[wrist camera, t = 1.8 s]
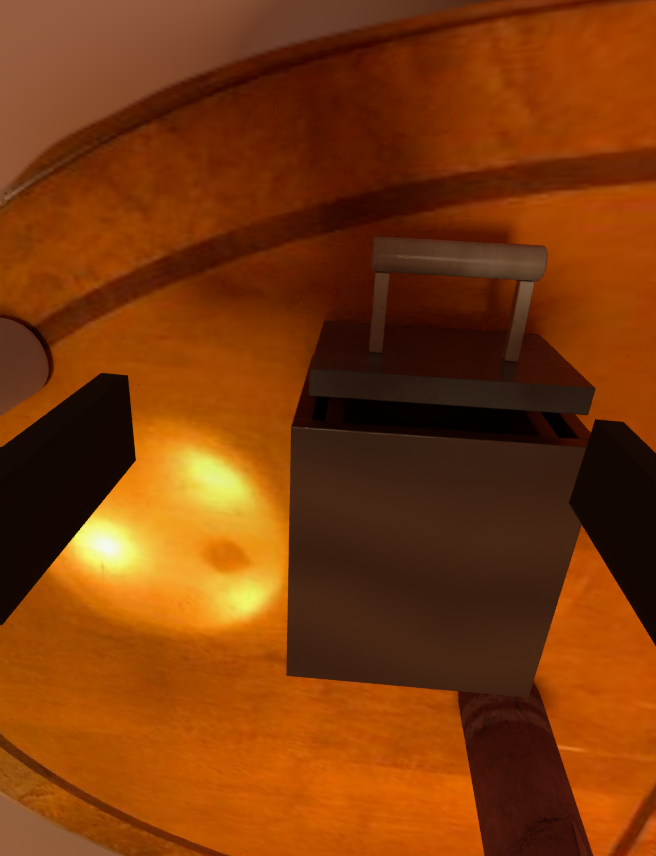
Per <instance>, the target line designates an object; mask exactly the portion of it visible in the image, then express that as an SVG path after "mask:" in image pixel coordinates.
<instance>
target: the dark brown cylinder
mask: <svg viewBox="0 0 656 856" xmlns="http://www.w3.org/2000/svg"><path fill="white" fill-rule="evenodd" d="M458 702H459V708H460V714H461V720H462V726H463V732H464V738H465V744H466V749H467V755H468V761H469V767H470V773H471V779H472V785H473V790H474V796H475V802H476V808H477V814H478V820H479V826H480V831H481V837H482V843H483V849H484V855H485V856H593V854H592V851H591V848H590V845H589V842H588V839H587V836H586V833H585V829H584V826H583V823H582V820H581V817H580V814H579V811H578V808H577V805H576V802H575V799H574V796H573V793H572V790H571V787H570V784H569V781H568V778H567V775H566V772H565V769H564V766H563V763H562V760H561V756H560V753H559V750H558V747H557V744H556V741H555V738H554V735H553V732H552V729H551V726H550V723H549V720H548V717H547V714H546V711H545V708H544V705H543V702H542V699H541V696H540V693H539V692H538V690H537V688H536V687H535V686H534V685H533V684H532V687H531V690H530V693H529V697H517V696H505V695H494V694H483V693H472V692H461V694H460V697H459V701H458Z"/></svg>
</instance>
